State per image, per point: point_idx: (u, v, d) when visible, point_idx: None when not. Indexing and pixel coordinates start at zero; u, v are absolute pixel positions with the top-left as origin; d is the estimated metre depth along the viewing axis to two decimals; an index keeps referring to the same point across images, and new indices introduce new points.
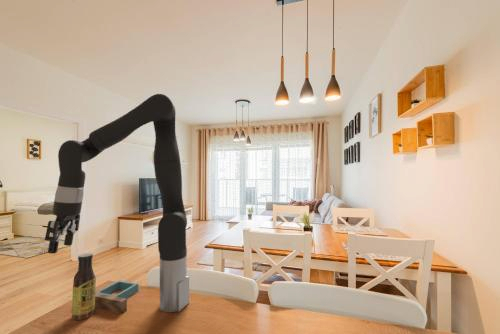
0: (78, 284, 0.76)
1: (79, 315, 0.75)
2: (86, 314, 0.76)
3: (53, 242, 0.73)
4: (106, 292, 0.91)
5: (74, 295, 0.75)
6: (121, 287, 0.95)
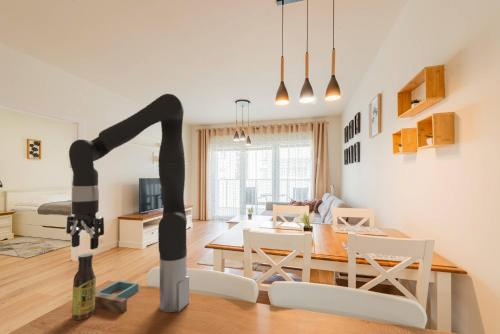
0: (78, 284, 0.76)
1: (79, 315, 0.75)
2: (86, 314, 0.76)
3: (97, 237, 0.77)
4: (106, 292, 0.91)
5: (74, 295, 0.75)
6: (121, 287, 0.95)
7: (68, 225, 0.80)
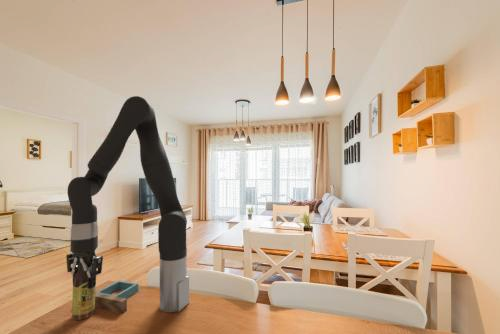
0: (78, 284, 0.76)
1: (79, 315, 0.75)
2: (86, 314, 0.76)
3: (95, 276, 0.77)
4: (106, 292, 0.91)
5: (74, 295, 0.75)
6: (121, 287, 0.95)
7: (68, 263, 0.79)
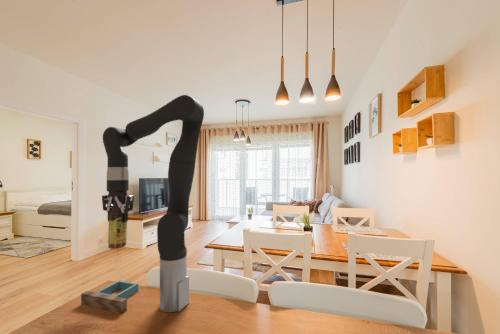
0: (114, 218, 0.88)
1: (115, 244, 0.88)
2: (120, 244, 0.89)
3: (127, 212, 0.90)
4: (106, 292, 0.91)
5: (110, 227, 0.88)
6: (121, 287, 0.95)
7: (104, 203, 0.92)
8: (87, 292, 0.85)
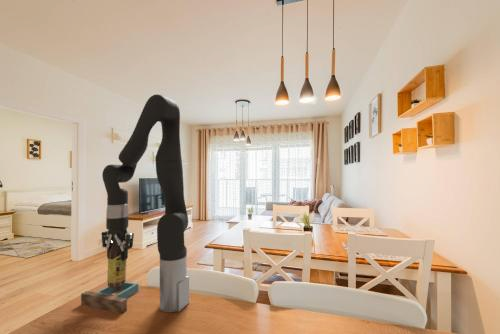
0: (113, 257, 0.88)
1: (114, 283, 0.87)
2: (120, 282, 0.88)
3: (127, 250, 0.90)
4: (106, 292, 0.91)
5: (110, 266, 0.88)
6: (121, 287, 0.95)
7: (103, 239, 0.92)
8: (87, 292, 0.85)
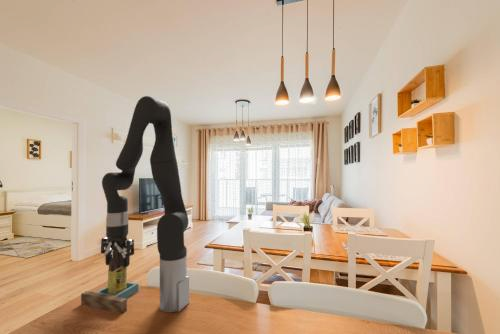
0: (113, 269, 0.88)
1: None
2: None
3: (129, 257, 0.89)
4: (106, 292, 0.91)
5: (110, 278, 0.88)
6: None
7: (102, 246, 0.92)
8: (87, 292, 0.85)
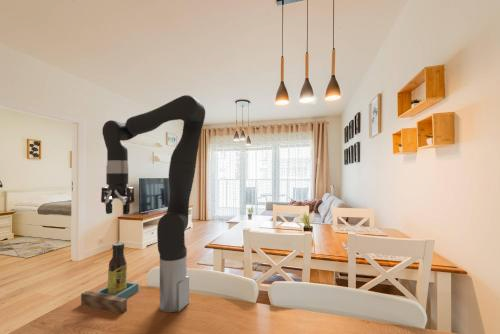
0: (113, 269, 0.88)
1: None
2: None
3: (129, 204, 0.90)
4: (106, 292, 0.91)
5: (110, 278, 0.88)
6: None
7: (102, 195, 0.92)
8: (87, 292, 0.85)
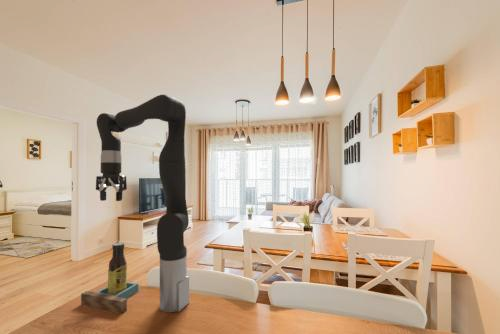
0: (113, 269, 0.88)
1: None
2: None
3: (121, 192, 0.97)
4: (106, 292, 0.91)
5: (110, 278, 0.88)
6: None
7: (97, 183, 0.99)
8: (87, 292, 0.85)
